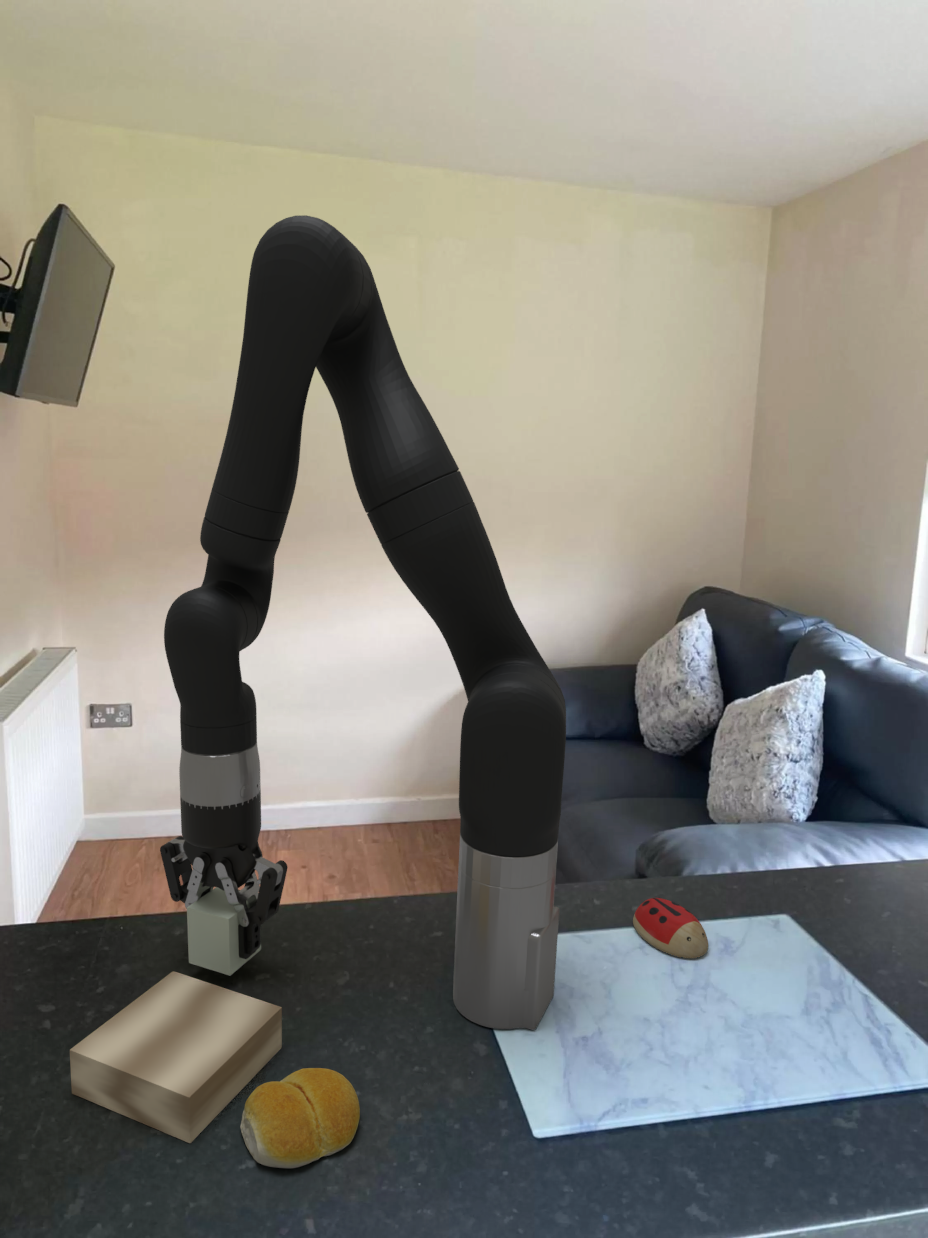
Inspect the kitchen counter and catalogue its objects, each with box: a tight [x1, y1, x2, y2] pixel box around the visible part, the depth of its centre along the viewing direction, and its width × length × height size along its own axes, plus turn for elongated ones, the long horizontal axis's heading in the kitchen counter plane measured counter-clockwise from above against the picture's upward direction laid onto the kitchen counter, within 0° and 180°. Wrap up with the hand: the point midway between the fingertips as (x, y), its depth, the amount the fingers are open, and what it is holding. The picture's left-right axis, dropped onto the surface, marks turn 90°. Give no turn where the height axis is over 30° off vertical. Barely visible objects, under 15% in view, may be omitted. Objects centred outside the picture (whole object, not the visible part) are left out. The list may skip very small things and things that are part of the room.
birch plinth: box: [69, 971, 283, 1144], centre depth 73 cm, size 12×12×4 cm
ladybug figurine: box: [632, 897, 709, 959], centre depth 97 cm, size 7×10×4 cm
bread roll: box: [239, 1067, 361, 1169], centre depth 68 cm, size 8×9×4 cm
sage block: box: [186, 887, 262, 977], centre depth 87 cm, size 5×5×6 cm
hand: (225, 947), depth 87 cm, fingers closed on sage block, 5 cm apart
